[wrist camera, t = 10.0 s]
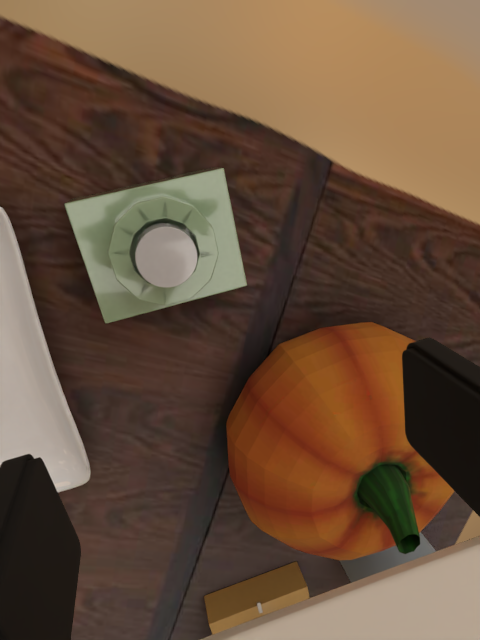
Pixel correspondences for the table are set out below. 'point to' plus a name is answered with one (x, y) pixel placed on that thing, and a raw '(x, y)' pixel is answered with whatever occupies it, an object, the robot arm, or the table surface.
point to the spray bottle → (383, 560)
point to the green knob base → (142, 212)
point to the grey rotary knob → (165, 255)
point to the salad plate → (32, 379)
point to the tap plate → (255, 597)
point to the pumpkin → (332, 446)
